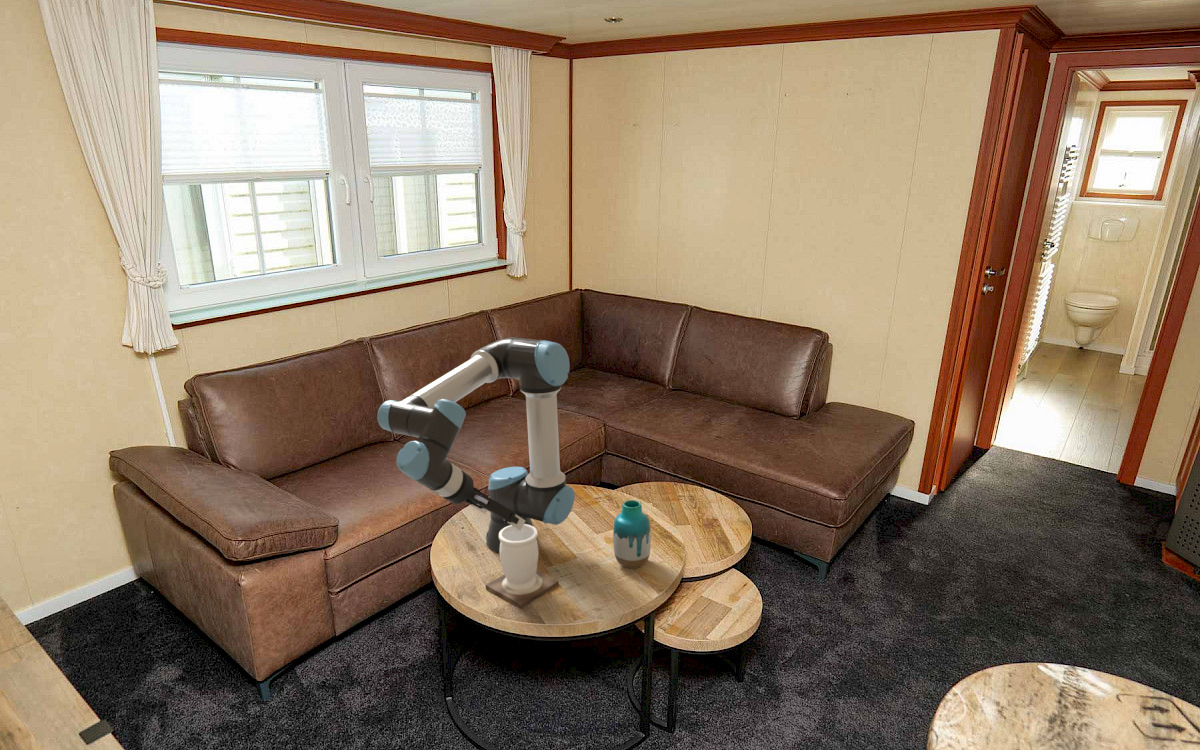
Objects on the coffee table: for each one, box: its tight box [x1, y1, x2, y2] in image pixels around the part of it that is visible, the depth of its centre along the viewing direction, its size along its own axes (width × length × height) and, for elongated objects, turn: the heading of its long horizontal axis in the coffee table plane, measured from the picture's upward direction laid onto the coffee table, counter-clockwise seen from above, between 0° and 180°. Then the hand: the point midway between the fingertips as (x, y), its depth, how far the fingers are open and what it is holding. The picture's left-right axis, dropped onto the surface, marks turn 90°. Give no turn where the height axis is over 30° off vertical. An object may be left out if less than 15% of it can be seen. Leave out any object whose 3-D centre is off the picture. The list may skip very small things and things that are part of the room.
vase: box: [612, 499, 652, 569], centre depth 196 cm, size 11×11×19 cm
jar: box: [499, 524, 539, 590], centre depth 186 cm, size 11×10×15 cm
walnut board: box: [485, 570, 560, 609], centre depth 188 cm, size 14×14×1 cm
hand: (504, 516), depth 177 cm, fingers open, 13 cm apart
